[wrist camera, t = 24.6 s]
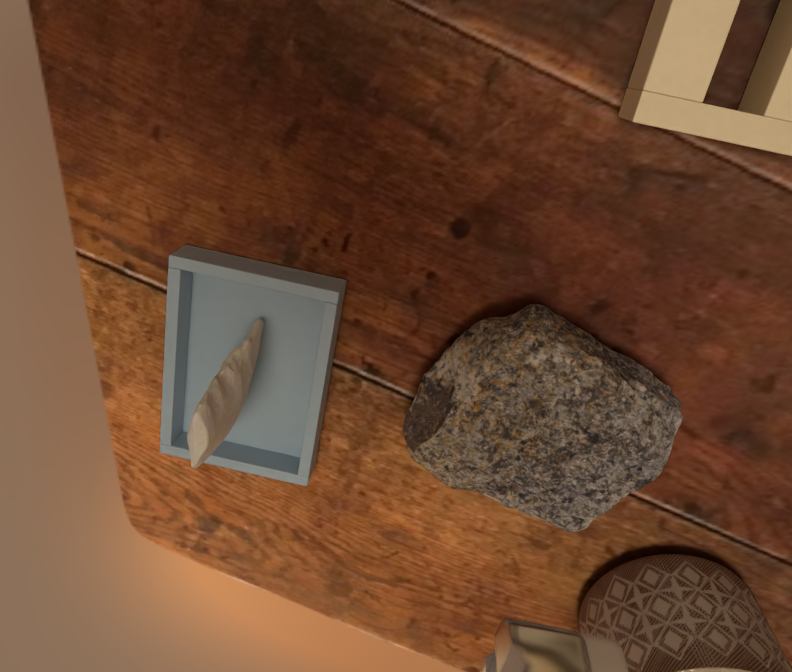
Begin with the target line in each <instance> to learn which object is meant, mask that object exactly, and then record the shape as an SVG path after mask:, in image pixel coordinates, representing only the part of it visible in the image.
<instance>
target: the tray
mask: <svg viewBox="0 0 792 672" xmlns="http://www.w3.org/2000/svg"><path fill="white" fill-rule="evenodd" d="M346 282H347V280H344V279H340V278H335V277H331V276H326V275H322V274H317V273H313V272H308V271H304V270H299V269H294V268H290V267H285V266H281V265H276V264H272V263H267V262H263V261H258V260H254V259H249V258H245V257H240V256H236V255H231V254H227V253H222V252H218V251H213V250H209V249H204V248H200V247H195V246H191V245H184V246H183V247H181V248H180V249H178V250H176V251H175V252H173V253H172V254H170V255H169V267H168V284H167V305H166V326H165V347H164V368H163V389H162V410H161V431H160V453H163V454H168V455H172V456H176V457H181V458H185V459H190V460H191V457H190V451H189V446H188V441H187V435H188V430H189V427H190V422H191V419H192V416H193V414H194V411H195V409H196V407H197V405H198V403H199V402H200V400H201V399H202V398H203V396H204V394H205V392H206V391H207V389H208V388H209V386H210V383H211V381H212V379H213V378H214V377H215V376H216V375H217V373H218V372H219V370H220V367H221V364H222V363H223V361H224V360H225V359H226V358H227V357H228V356H229V354H230V353H231V352H232V350H234V349H235V348H236V347H238V346H239V345H240V344H241V343H242V342H243V341H244V340H245V338H246V336H247V335H248V334H249V332H250V330H251V329H252V327H253V325H254V322H255V321H256V320H257V319H262V320H263V321H264V326H263V330H262V333H261V338H260V346H259V352H258V356H257V360H256V364H255V368H254V372H253V375H252V379H251V382H250V385H249V390H248V395H247V399H246V401H245V403H244V404H243V406H242V408H241V411H240V414H239V417H238V419H237V420H236V422H235V424H234V426H233V427H232V429H231V431H230V432H229V434H228V435H227V436H226V438H225V439H224V440H223V441H222V443H221V444H220V445H219V446H218V447H217V448H216V449H215V450H214V451H213V453H212V454H211V455H210V456H209V457H208V458H207V459H206V460H205V461H204V462H203V463H207V464H211V465H216V466H220V467H224V468H229V469H233V470H238V471H242V472H246V473H251V474H255V475H259V476H264V477H268V478H272V479H277V480H281V481H286V482H290V483H294V484H299V485H303V486H307V485H308V483H309V480H310V478H311V475H312V473H313V470H314V468H315V464H316V458H317V452H318V446H319V440H320V434H321V429H322V423H323V417H324V411H325V405H326V399H327V393H328V387H329V382H330V376H331V370H332V364H333V358H334V352H335V346H336V341H337V335H338V329H339V323H340V317H341V311H342V305H343V300H344V294H345V288H346Z"/></svg>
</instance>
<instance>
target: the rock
mask: <svg viewBox="0 0 792 672" xmlns="http://www.w3.org/2000/svg"><path fill="white" fill-rule="evenodd" d="M682 418H683V416H682V414H681V412H680V402H679V399H678V398H677V397H676V396H675V395H674V394H673V393H672V391H671V389H670V386H668V385H664V384H663V383H662V382H661V381H660V380H658V379H657V378H656V377H655V376H654V375H653V374H652V372H651V371H650V370H648V369H647V368H645V367H644V366H642V365H640V364H638V363H637V362H635V361H634V360H633V359H630V358H629V357H627V356H624V355H622V354H619V353H617V352H615V351H613V350H611V349H610V348H609V347H607V346H606V345H603V344H601V343H600V342H599V341H598V340H596V339H595V338H594V337H593V336H592V335H590V334H589V333H587V332H585V331H584V330H582V329H580V328H579V327H577V326H575V325H573V324H571V323H570V322H569V321H568V320H567V319H565V318H563V317H561V316H559V315H557V314H555V313H553V312H552V311H551V310H550V309H549V308H548V307H546V306H543V305H539V304H531V305H528V306H526V307H525V308H523V309H521V310H519V311H518V312H516V313H514V314H511V315H508V316H506V317H493V318H487V319H483V320H481V321H479V322H477V323H476V324H474V325H472V326H471V328H470V329H468V330H466V331H465V332H464V333H463V334H462V335H461V336H460V337H458V338H457V339H456V340H455V342H454V343H453V344H452V345H451V346H450V347H449V348H447V349H446V350H445V351H444V353H443V355H442V356H441V357H440V358H439V359H438V360H437V362H436V363H435V364H434V365H433V366H432V368H431V369H430V370H429V371H428V372H426V373H425V374H424V375H423V377H422V380H421V382H420V385H419V388H418V391H417V394H416V396H415V399H414V401H413V403H412V405H411V407H410V408H409V409H408V411H407V414H406V417H405V421H404V426H403V434H404V437H405V440H406V443H407V448H408V450H409V452H410V454H411V457H412V458H413V459H414V460H415V461H416V462H417V463H419V464H420V465H422V466H423V467H424V468H425V469H426V470H427V471H431V472H432V473H433V474H434V475H436V476H437V477H438V478H439V479H440V480H441V481H442V482H443V483H444V484H446V485H448V486H450V487H452V488H454V489H463V490H472V491H476V492H479V493H481V494H483V495H485V496H487V497H489V498H491V499H493V500H495V501H497V502H499V503H500V504H502V505H504V506H506V507H509V508H516V509H518V510H519V511H520V512H522V513H524V514H527V515H530V516H532V517H535V518H539V519H542V520H545V521H547V522H549V523H551V524H553V525H555V526H557V527H559V528H561V529H563V530H566V531H573V532H579V531H582V530H584V529H586V528H588V526H589V525H590V523H591V522H592V521H593V520H595V519H596V517H597V516H599V515H601V514H603V513H605V512H608V511H610V510H611V508H612V507H613V505H615V504H617V503H618V502H619V501H621V500H622V499H623V498H624V497H625V496H626V495H628V494H629V493H630V492H632V491H635V490H638V489H641V488H642V487H644V486H645V485H647V484H648V483H650V482H652V481H653V480H654V479H655V478H656V477H658V476H659V475H660V473H661V472H662V470H663V467H664V465H665V464H667V461H668V457H669V454H670V452H671V449H672V444H673V440H674V436H675V434H676V432H677V430H678V428H679V426H680V424H681V422H682Z"/></svg>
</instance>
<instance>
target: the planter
mask: <svg viewBox="0 0 792 672" xmlns="http://www.w3.org/2000/svg"><path fill="white" fill-rule="evenodd" d="M578 628H579V633H583V634H588V635H593V636H598V637H602V638H607V639H612V640H617V642H618V643H619V644H620V646H621V647H622V649H623V653H624V656H625V660H626V663H627V667H628V671H629V672H792V667H791V665H790V663H789V661H788V659H787V657H786V656H785V654H784V652H783V650H782V648H781V646H780V644H779V642H778V640H777V639H776V637H775V635H774V633H773V631H772V629H771V627H770V625H769V623H768V622H767V620H766V618H765V616H764V614H763V612H762V610H761V608H760V607H759V605H758V603H757V601H756V599H755V597H754V595H753V594H752V592H751V590H750V589H749V588H748V586H747V585H746V584H745V583H744V582H743V581H742V580H741V579H740V578H739V577H738V576H737V575H736V574H734V573H733V572H732V571H730V570H729V569H727V568H725V567H723V566H722V565H720V564H717V563H715V562H712V561H710V560H707V559H704V558H700V557H696V556H690V555H682V554H660V555H652V556H646V557H642V558H638V559H635V560H632V561H629V562H626V563H624V564H622V565H620V566H618V567H616V568H614V569H612V570H611V571H609V572H608V573H606V574H605V575H604V576H602V577H601V578H600V579H599V580H598V581H597V582H596V583H595V584H594V585H593V586H592V587H591V588H590V590H589V591H588V593H587V594H586V596H585V598H584V599H583V602H582V604H581V607H580V611H579V617H578Z"/></svg>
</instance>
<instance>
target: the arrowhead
mask: <svg viewBox="0 0 792 672" xmlns="http://www.w3.org/2000/svg"><path fill="white" fill-rule="evenodd" d="M263 326H264V321H263V320H262V319H257V320H256V321H255V322H254V325H253V327H252V329H251V330H250V332H249V334H248V335H247V336H246V338H245V340H244V341H243V342H242V343H241V344H240V345H239V346H238V347H236V348H235V349H234V350H232V352H231V353H230V354H229V356H228V357H227V358H226V359H225V360H224V361H223V363H222V364H221V367H220V370H219V372H218V373H217V375H216V376H215V377H214V378H213V379H212V381H211V383H210V386H209V388H208V389H207V391H206V392H205V394H204V396H203V398H202V399H201V400H200V402H199V403H198V405H197V407H196V409H195V411H194V414H193V416H192V419H191V422H190V427H189V430H188V435H187V441H188V446H189V451H190V457H191V467H192V468H197V467H198V466H200V465H201V464H202V463H203V462H204V461H205V460H206V459H207V458H208V457H209V456H210V455H211V454H212V453H213V451H214V450H215V449H216V448H217V447H218V446H219V445H220V444H221V443H222V441H223V440H224V439H225V438H226V436H227V435H228V434H229V432H230V431H231V429H232V427H233V426H234V424H235V422H236V420H237V419H238V417H239V414H240V411H241V408H242V406H243V404H244V403H245V401H246V399H247V395H248V390H249V385H250V382H251V379H252V375H253V372H254V368H255V364H256V360H257V356H258V352H259V346H260V338H261V333H262V330H263Z"/></svg>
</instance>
